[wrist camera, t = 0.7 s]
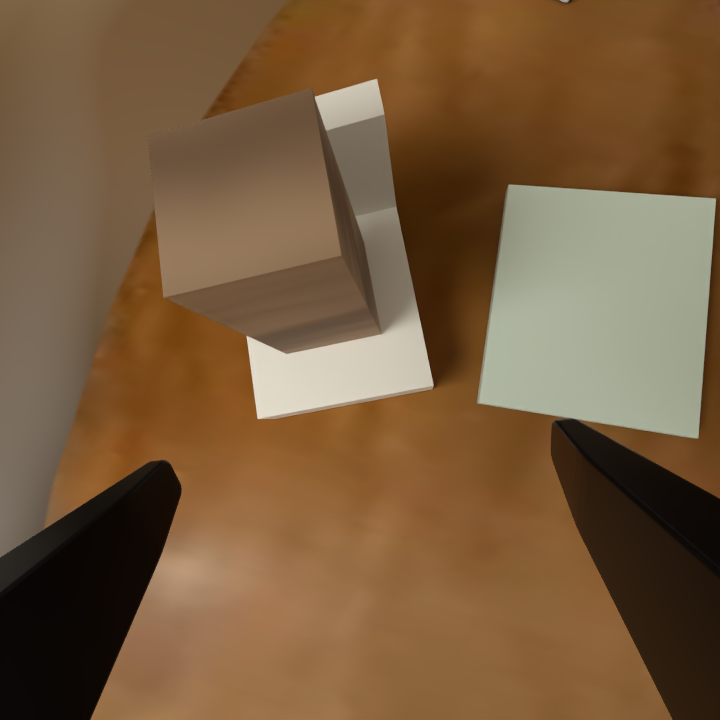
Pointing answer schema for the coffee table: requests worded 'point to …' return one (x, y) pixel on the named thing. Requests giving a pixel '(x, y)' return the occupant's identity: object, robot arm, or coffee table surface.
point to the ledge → (388, 275)
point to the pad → (600, 307)
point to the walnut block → (262, 226)
